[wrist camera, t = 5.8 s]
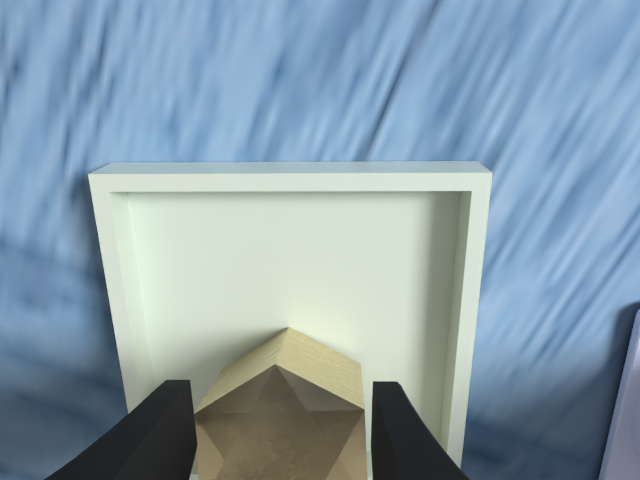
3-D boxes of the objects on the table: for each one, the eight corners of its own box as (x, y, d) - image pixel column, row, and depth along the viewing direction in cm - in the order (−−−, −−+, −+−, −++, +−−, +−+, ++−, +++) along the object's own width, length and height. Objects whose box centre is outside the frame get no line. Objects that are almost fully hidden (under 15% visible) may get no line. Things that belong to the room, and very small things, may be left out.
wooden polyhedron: (358, 324, 17) (362, 360, 13) (365, 476, 17) (370, 548, 14) (220, 329, 17) (189, 366, 14) (231, 479, 18) (204, 550, 14)
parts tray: (476, 160, 15) (492, 172, 14) (448, 455, 19) (458, 489, 17) (112, 162, 15) (88, 174, 14) (155, 451, 19) (140, 484, 18)
